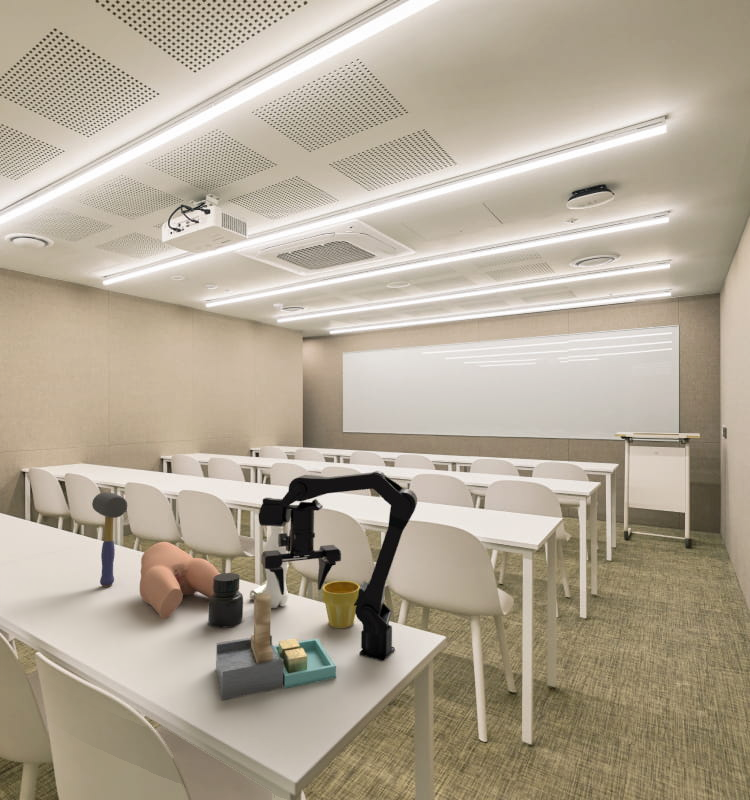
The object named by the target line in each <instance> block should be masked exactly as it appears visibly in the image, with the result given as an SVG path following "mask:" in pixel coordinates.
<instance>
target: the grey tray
mask: <svg viewBox="0 0 750 800" xmlns="http://www.w3.org/2000/svg"><path fill="white" fill-rule="evenodd" d="M270 646H271V648H272V650H273V660H270V661H264V662H259V663H257V662H256V659H255V656H254V654H253V651H252V648H251V637H245V638H240V639H234V640H227V641H222V642H216V650H215V651H216V654H215V670H216V676H217V681H218V685H219V686H218V687H219V690H220V691H219V692H220V697H221V701H226V700H230V699H235V698H240V697H244V696H250V695H253V694H259V693H263V692H269V691H273V690H278V689H282V688H283V689H284V685H283V659H282V658H281V659H279V657H278V655H277V653H276V651H275V649H274V647H273V646H274V644H273V635H272V634H271V633H270Z"/></svg>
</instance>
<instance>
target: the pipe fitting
mask: <svg viewBox="0 0 750 800" xmlns="http://www.w3.org/2000/svg"><path fill="white" fill-rule="evenodd" d="M266 583H267V580H265V581H264V582H262V583H261V584H260V586H257V587H256V588H253V589H252V590H250V592H249V599H250V600H251V601H254V596H255V595H256V594H264V593H265V589H266Z"/></svg>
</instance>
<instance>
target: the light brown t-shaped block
mask: <svg viewBox="0 0 750 800" xmlns="http://www.w3.org/2000/svg"><path fill="white" fill-rule="evenodd" d="M271 611H272V608H271V597H270V595H269V593H264V594H256V595H255V596H254V600H253V634H251V635H250V638H251V648H252V651H253V654H254V656H255V659H256V662H257V663H259V662H264V661H270V660H273V650H272V648H271V646H270V634H271V624H272V623H271V617H272V616H271V615H272V612H271Z"/></svg>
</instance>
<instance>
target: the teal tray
mask: <svg viewBox="0 0 750 800" xmlns="http://www.w3.org/2000/svg"><path fill="white" fill-rule="evenodd" d="M298 643H299V645H300V648H303V649H304V651H305V653H306V655H307V670H303V671H298V672H293V673H288V672H287V670H286V668H285V666H284V664H283V689H289V688H293V687H298V686H303V685H309V684H312V683H317V682H318V683H319V682H322V681H326V680H332V679H336V678H337V665H336V664H335V662H334V661H333V659H332V657H330V655H329V654H328V652H327V650H326V649H325V647H324V646H323V644H322V643H321V641H320V640H319V638H312V639H311V638H310V639H306V640H299V641H298ZM273 647H274V649H275V651H276V653H277V655H278V657H279V659H281V657H280V655H279V653H278V650H279V644H277V645H276V644H275V645H273Z"/></svg>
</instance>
